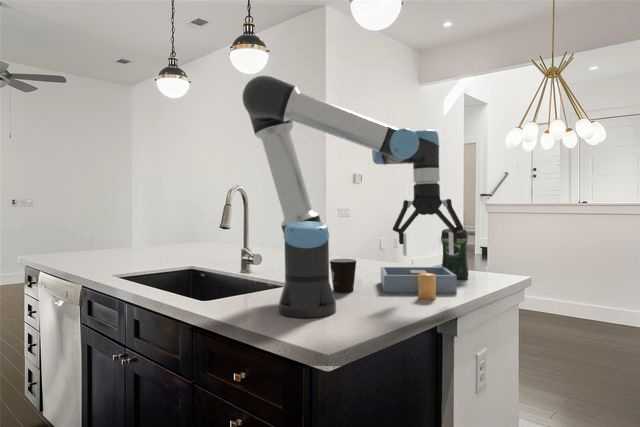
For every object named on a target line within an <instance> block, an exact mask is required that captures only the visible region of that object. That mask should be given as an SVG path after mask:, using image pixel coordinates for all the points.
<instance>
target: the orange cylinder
mask: <svg viewBox="0 0 640 427" xmlns="http://www.w3.org/2000/svg"><path fill="white" fill-rule="evenodd" d="M417 294H418V299H419V298H420V300H424V301H425V300H426V301H427V300H428V301H432V300H436V299H437V293H436V275H435V274H431V273H421V274H418V293H417Z"/></svg>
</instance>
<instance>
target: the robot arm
mask: <svg viewBox="0 0 640 427" xmlns="http://www.w3.org/2000/svg"><path fill="white" fill-rule="evenodd" d="M242 104H243V107H244V108H245V110H246V112H247V113H248V115H249V119H250V122H251V125H252V128H253V129H252V130H253V132H254V136H255V137H256V138H258V139H260V140H261V142H262V145H263V148H264V152H265V155H266V159H267V162H268V166H269V170H270V172H271V177H272V181H273V184H274V188H275V190H276V193H277V196H278V201H279V204H280V207H281V208H280V209H281V211H282V214H283V221H282V223H281V224H280V226H281V230H282V233H283V239H284V286H283V288H282V292H281V295H280V298H279V303H278V313H279V314H280V315H282V316H286V317H289V318H295V319H296V318H298V319H310V318H311V319H312V318H313V319H314V318H320V317H321V318H322V317H327V316H330V315H332V314H335V312H336V311H337V301H336V298H335V295H334V291H333V288H332V287H331V284H330V259H329V258H330V255H329V254H330V253H329V252H330V248H329V247H330V246H329V240H330V232H329V227H328V225H327V224H326V223H324V222H322V221H321V217H320V214H319V213H318V212H316V211H314V210H313V209H312V207H313V206H312V205H311V201H310V197H309V194H308V190H307V186H306V184H305V180H304V176H303V174H302V170H301V169H302V168H301V166H300V163H299V158H298V155H297V152H296V148H295V145H294V142H293V138H292V134H291V131H292V129H293V128H294V123H293V122H295V123H298V124H301V125H304V126H306V127H309V128H312V129H314V130H318V131H319V132H322V133H326V134H328V135H331V136H334V137H335V138H336V137H337V138H339V139H342V140H345V141H348V142H350V143H353V144H356V145H359V146H362V147H364V148H366V149H369V150H371V151H372V152H371V154H372V155H371V156H372V162H373V163H374V164H375V165H385V166H386V165H401V164H410V165H411V164H412V165H413V166H412V167H413V168H412V169H413V170H412V171H413V172H412V173H413V182H414V185H413V199H412V200H407V199H405V200H403V201H402V208H401V210H400V211H399V214H398V216H397V218H396V220H395V223H394V225H393V227H392V231H394V232H396V233H398V243H399V244H400V245H402V255H403V257H406V256H407V233H405V232H406V230H407V229H408V228H409V226H410V225H411V224H412V223H413V222H414V220H415V219H416V218H417V217H418V216H419V215H422V216H425V215H430V216H431V215H436V216H438V218H439V219H440V220H441V222H443V224H444V225H445V226H446V228H447V229H450V230H451V232H449V254H450V255H454V249H453V243H456V242H457V232H458V231H460V230H463V229H464V225H462V222H461V220H460V219H459V216H458V214H456V211H455V210H454V208H453V204H452V200H451V198H446V199H443V200H442V199H441V186H440V183H438V182H440V140H439V134H438V132H437V130H434V129H423V130H422V129H420V130H416V131H414V130H412V129H409V128H405V127H404V128H397V127H394V126H392V125H389V124H386V123H383V122H381V121H378V120H375V119H373V118H370V117H368V116H364V115H362V114H359V113H357V112H354V111H351V110H349V109H347V108H343V107H341V106H338V105H335V104H333V103H330V102H327V101H324V100H322V99H320V98H317V97H314V96H312V95H309V94H306V93H303V92H301V91H300V90H299V89H298V87H297V86H296V85H293V84H291V83H288V82H286V81H283V80H281V79H278V78H277V77H273V76H269V75H258V76H256V77H253V78H251V79H250V80H249V81H248V82H247V83H246V84H245V86H244V89H243V91H242ZM441 205H443V207H444V208H446V210H447V212H448V213H449V216H450V218H451V219H452V222H453V223H454V225H455V226H454V225H453V224H452V222H451V221H450V220H449V219H448V218H447V217H446V216H445V214H444V213H443V212H442V211H441V210H440V207H441ZM411 206H413V208H414V209H415V210H414V211H413V212H412V214H410V215H409V217H408V218H407V219H406V221H405V222H404V223H403V224H402V222H403V219H404V217H405V215H406V213H407V211H408V209H409V208H411ZM401 224H402V225H401ZM400 226H401V227H400Z"/></svg>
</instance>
